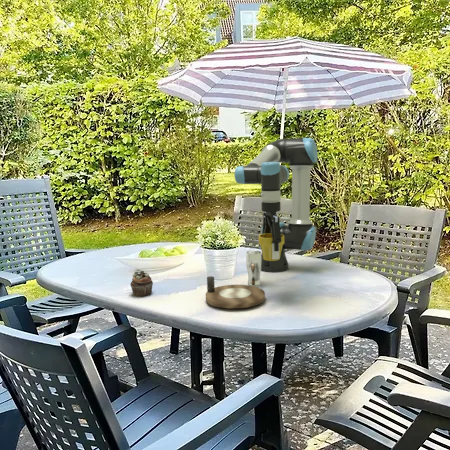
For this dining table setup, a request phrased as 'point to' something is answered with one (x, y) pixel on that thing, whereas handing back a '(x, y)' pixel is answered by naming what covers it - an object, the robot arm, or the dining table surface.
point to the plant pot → (269, 246)
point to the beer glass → (254, 267)
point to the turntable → (233, 295)
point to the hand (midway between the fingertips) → (271, 255)
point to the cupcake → (141, 284)
